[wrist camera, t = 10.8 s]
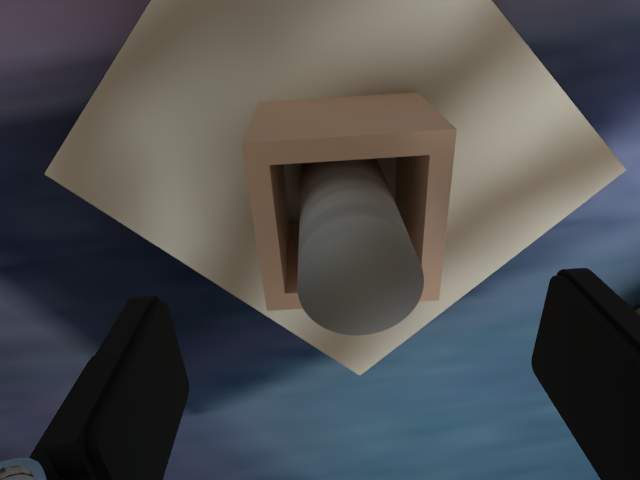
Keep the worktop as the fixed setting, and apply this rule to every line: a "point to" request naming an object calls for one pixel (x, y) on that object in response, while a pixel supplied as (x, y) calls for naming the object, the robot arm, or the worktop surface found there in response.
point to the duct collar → (348, 144)
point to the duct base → (324, 56)
